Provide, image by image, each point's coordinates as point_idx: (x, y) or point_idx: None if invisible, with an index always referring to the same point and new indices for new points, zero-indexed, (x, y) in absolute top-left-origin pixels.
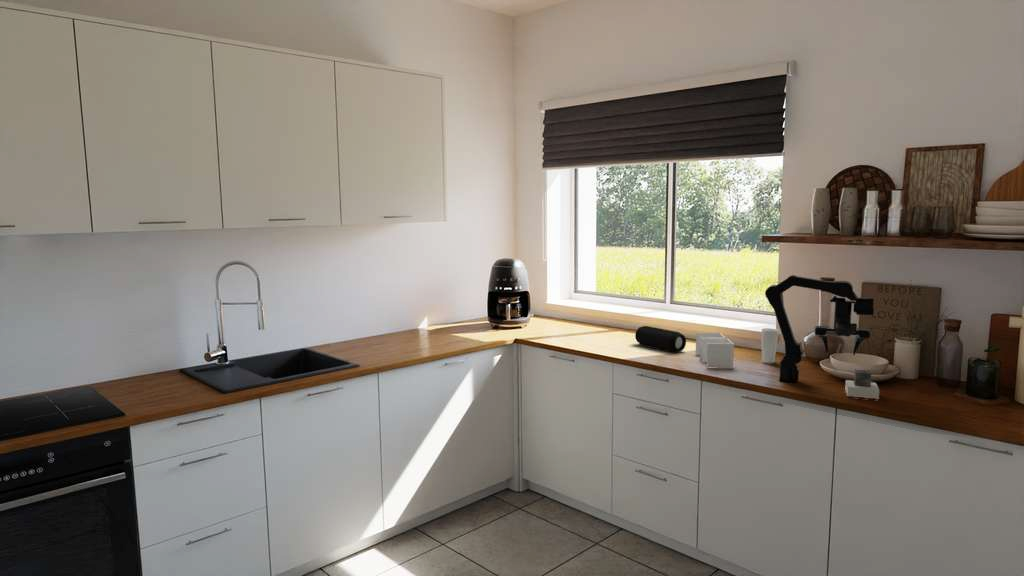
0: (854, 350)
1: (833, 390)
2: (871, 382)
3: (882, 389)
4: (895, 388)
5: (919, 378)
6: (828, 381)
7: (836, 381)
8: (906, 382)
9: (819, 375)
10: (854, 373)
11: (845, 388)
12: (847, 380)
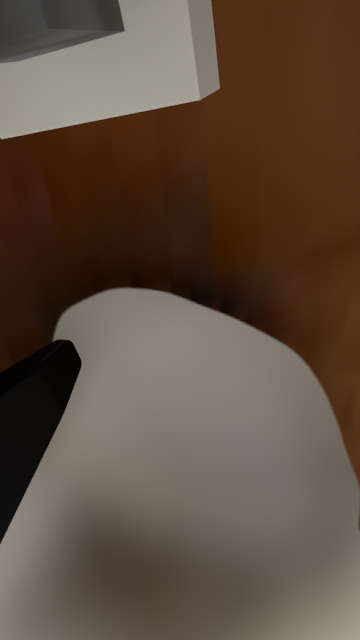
0: (16, 374)
1: (314, 18)
2: (23, 133)
3: (51, 240)
4: (20, 281)
5: None
6: (320, 296)
7: (272, 311)
8: None
9: (354, 394)
10: (70, 8)
11: (213, 69)
12: (185, 91)
